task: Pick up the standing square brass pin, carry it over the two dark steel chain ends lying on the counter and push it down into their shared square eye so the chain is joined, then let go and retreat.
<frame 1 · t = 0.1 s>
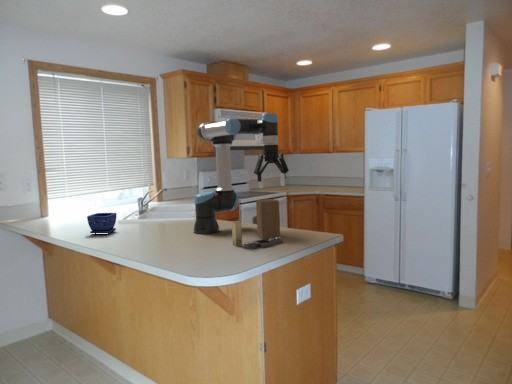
hand: (272, 187, 194), 28 cm above the counter, fingers open, 13 cm apart
flower pot: (103, 233, 237), on the counter
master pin: (237, 245, 192), on the counter
wooden block: (268, 237, 209), on the counter
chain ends: (262, 245, 190), on the counter
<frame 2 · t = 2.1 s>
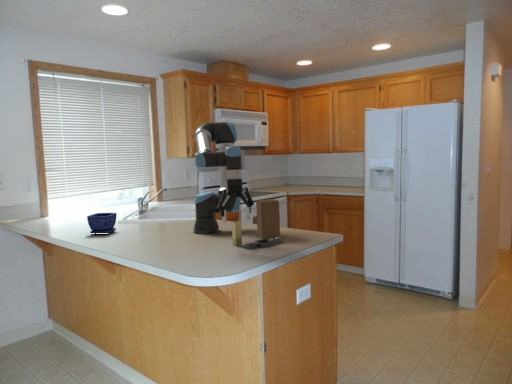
hand: (236, 221, 190), 12 cm above the counter, fingers open, 13 cm apart
nothing on the counter moved.
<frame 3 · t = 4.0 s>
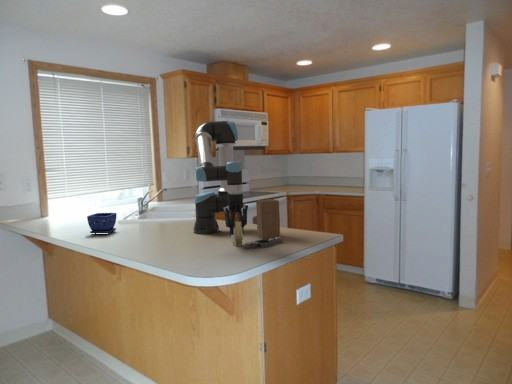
hand: (237, 240, 192), 3 cm above the counter, fingers closed on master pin, 3 cm apart
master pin: (237, 245, 192), on the counter, touching gripper
everything else where it was.
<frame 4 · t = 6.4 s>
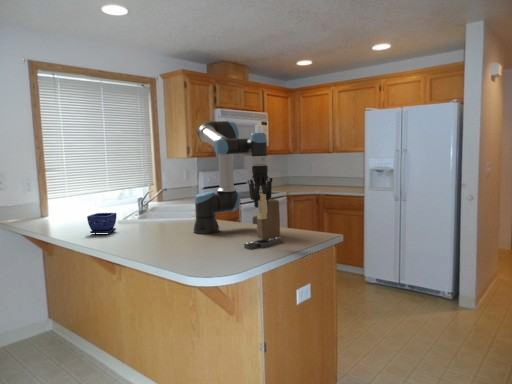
hand: (261, 213, 188), 16 cm above the counter, fingers closed on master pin, 3 cm apart
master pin: (261, 218, 188), point 13 cm above the counter, touching gripper
everything else where it was.
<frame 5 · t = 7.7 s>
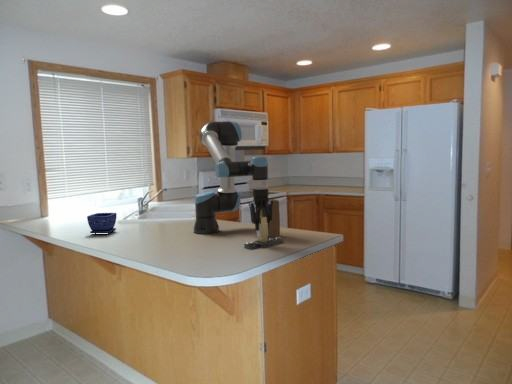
hand: (262, 236, 189), 5 cm above the counter, fingers closed on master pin, 3 cm apart
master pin: (262, 241, 189), point 2 cm above the counter, touching gripper
everything else where it was.
when the fingers open (3 cm above the counter, at t = 8.8 s): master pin stays where it is, resting in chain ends.
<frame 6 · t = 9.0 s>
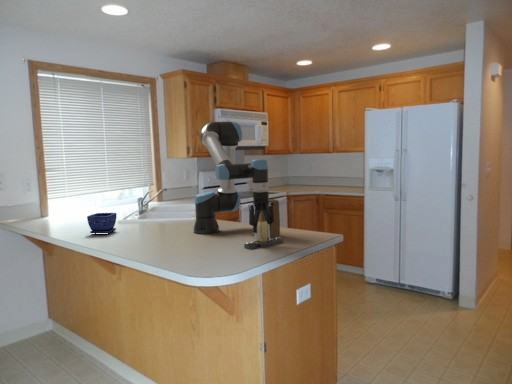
hand: (262, 238, 189), 4 cm above the counter, fingers open, 6 cm apart
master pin: (262, 245, 190), resting in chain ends
everything else where it was.
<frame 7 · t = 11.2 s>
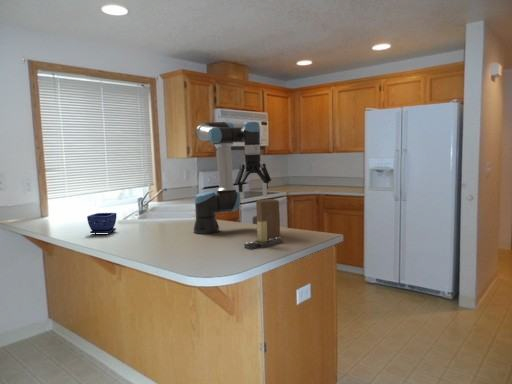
hand: (253, 197, 191), 24 cm above the counter, fingers open, 13 cm apart
nothing on the counter moved.
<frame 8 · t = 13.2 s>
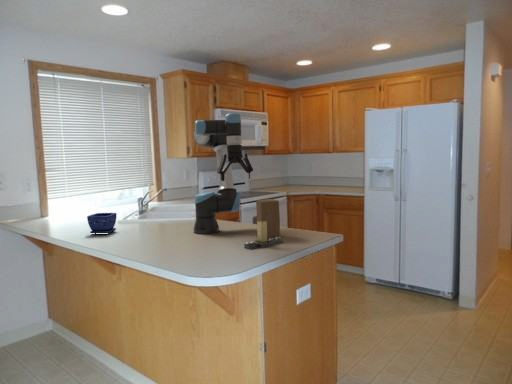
hand: (236, 186, 198), 29 cm above the counter, fingers open, 13 cm apart
nothing on the counter moved.
at the end: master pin 0.0 cm off-centre on the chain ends, point 0.0 cm above the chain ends's base; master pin tilted 0°; the gripper is holding nothing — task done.
